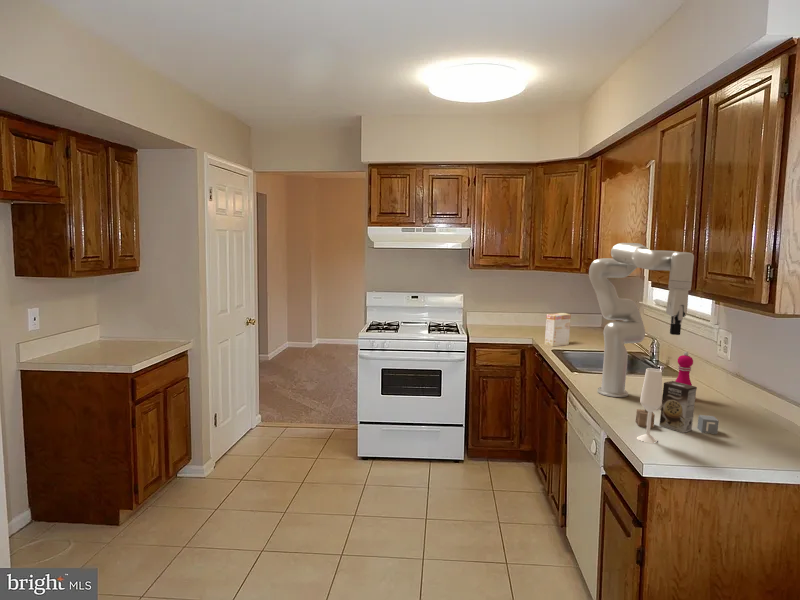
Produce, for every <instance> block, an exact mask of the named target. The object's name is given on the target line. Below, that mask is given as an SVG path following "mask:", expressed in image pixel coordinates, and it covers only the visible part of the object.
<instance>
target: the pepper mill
mask: <svg viewBox="0 0 800 600" xmlns="http://www.w3.org/2000/svg"><path fill="white" fill-rule="evenodd" d="M677 364H678V366H677V369H678V375H677V377H676V379H675V382H679V383H683V384H687V385H691V386H693V385H692V381H691V377H690V373H691V371H692V366H693V365H694V360H693V357H691V356H690V355H689V352H688V351H684V352H683V355H680V356H679V357H678V358H677Z"/></svg>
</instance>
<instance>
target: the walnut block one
mask: <svg viewBox="0 0 800 600" xmlns="http://www.w3.org/2000/svg"><path fill="white" fill-rule="evenodd" d="M647 418H648V411H647V410H646V409H645V408H644V409H641V408H640V409H639V408H636V414H635V423H636V426H638V427H641V428H647ZM654 426H655V413H654V412H652V416H651V427H650V429H651V428H652V429H654Z"/></svg>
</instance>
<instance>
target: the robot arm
mask: <svg viewBox="0 0 800 600" xmlns="http://www.w3.org/2000/svg"><path fill="white" fill-rule="evenodd" d="M610 255H611V258H610V257H609V258H607V257H606V258H605V257H603V258H597V259H595V260H593V261H592V262H591V264H590V265H589V269H588V277H589V281H590V284H591V285H592V288H593V290H594V293H595V295H596V299H597V302H598V305H599V309H600V313H601V315H602V317H603V318H604V319H605V320H607V321H610V322H608V323H607V324H605V326H604V328H603V333H602V334H603V340H604V341H603V342H604V344H603V345H604V347H603V348H604V349H603V350H604V351H603V362H602V363H603V365H602V376H601V377H602V378H601V386H600V387H598V388H597V390H596V391H597V393H598V394H600V395H603V396H606V397H611V398H626V397H628V396H629V391H627V390H626V379H627V370H628V368H627V367H628V356H629V355H628V350H627V349H626V346H625V344H638V343H641V342H642V341H644V339H645V338H646V337H645V336H646V329H645V326H644V325H645V324H644V321H643V319H642V315H641V312H640V308H639V307H638V305H637V303H636V302H635V301H634V300H633V299H630V298H625V297H624V298H621V297H619V295H618V292H617V288H616V287H615V285H614V284H613V283H612V282H611V281H610V280H609V279H608V278H610V279H611V278H612V279H613V278H614V279H615V278H616V279H618V278H619V279H620V278H622V279H624V278H626V277H629V275H631V274H632V273H633V272H634V271H635V270H636V269H637V268H639V269H643V270H649V271H669V275H668V276H669V277H668V285H667V286H668V287H667V288H668V290H669V291H668V295H667V301H666V308H665V309H666V310H665V313H666V314H667V315H669V316H670V326H669V327H670V329H669V334H670V335H673V336H680V335H681V330H682V322H683V318H685V317H686V316H687V314H688V306H689V303H688V302H689V291H691V290H692V284H693V283H692V280H693V271H694V261H695V255H694V254H693V253H692V252H687V251H675V250H661V249H660V250H655V249H653V250H652V249H649V248H648V247H647V246H645V245H643V244H642V243H639V242H638V243H637V242H636V243H635V242H620V243H616V244H614V245H613V246H612V248H611V250H610Z"/></svg>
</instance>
